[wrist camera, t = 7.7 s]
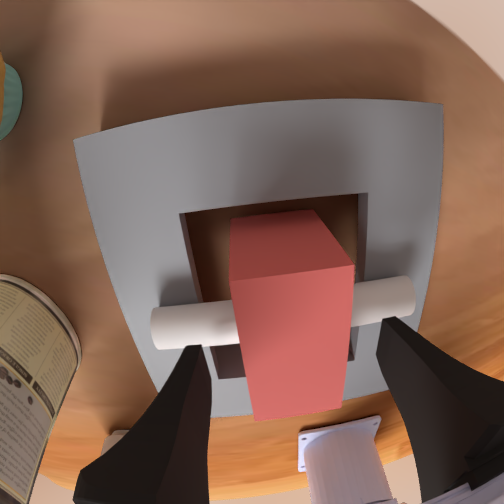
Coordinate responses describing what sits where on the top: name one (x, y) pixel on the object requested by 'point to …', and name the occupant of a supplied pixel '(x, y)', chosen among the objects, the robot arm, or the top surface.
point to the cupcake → (9, 97)
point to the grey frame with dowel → (259, 191)
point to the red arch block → (291, 311)
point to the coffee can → (30, 381)
